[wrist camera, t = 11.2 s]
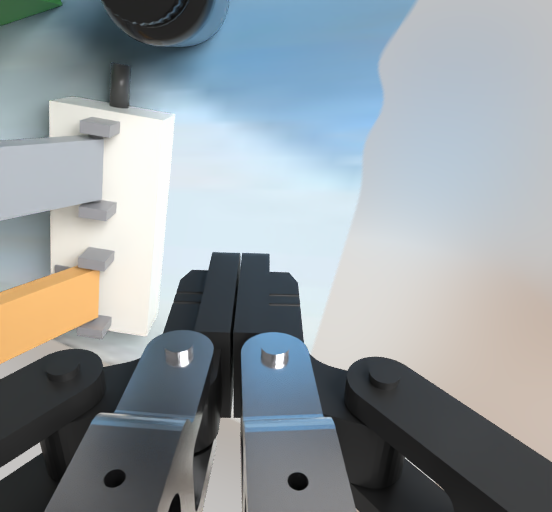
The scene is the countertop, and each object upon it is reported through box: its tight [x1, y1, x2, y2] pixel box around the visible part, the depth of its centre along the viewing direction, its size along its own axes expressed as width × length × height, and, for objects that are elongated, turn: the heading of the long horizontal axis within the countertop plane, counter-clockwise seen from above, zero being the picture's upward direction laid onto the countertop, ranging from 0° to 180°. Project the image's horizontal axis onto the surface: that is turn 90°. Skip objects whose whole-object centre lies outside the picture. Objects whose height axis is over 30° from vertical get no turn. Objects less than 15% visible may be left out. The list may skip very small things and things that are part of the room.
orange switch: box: [0, 266, 100, 364], centre depth 35 cm, size 5×1×10 cm, turn 171°
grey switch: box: [0, 134, 104, 221], centre depth 31 cm, size 5×1×10 cm, turn 171°
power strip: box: [49, 63, 175, 339], centre depth 38 cm, size 21×8×6 cm, turn 170°
